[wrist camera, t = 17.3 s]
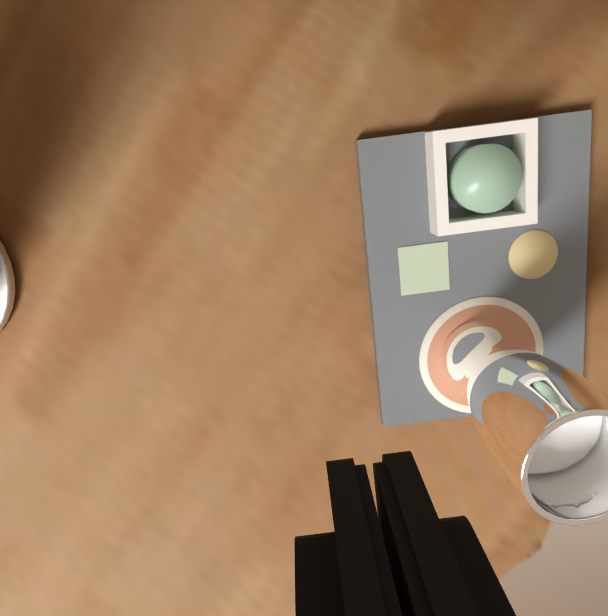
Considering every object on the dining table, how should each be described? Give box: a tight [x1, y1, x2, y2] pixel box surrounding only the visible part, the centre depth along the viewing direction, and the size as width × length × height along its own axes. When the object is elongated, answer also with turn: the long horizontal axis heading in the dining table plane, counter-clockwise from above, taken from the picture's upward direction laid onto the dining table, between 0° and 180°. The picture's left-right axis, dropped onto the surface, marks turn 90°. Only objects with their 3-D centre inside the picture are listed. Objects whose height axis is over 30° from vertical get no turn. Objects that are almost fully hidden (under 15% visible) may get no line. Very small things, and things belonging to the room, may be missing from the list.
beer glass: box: [440, 319, 608, 526], centre depth 32 cm, size 7×7×15 cm
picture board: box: [355, 110, 592, 427], centre depth 37 cm, size 16×22×3 cm
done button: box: [447, 144, 522, 213], centre depth 34 cm, size 4×4×2 cm
